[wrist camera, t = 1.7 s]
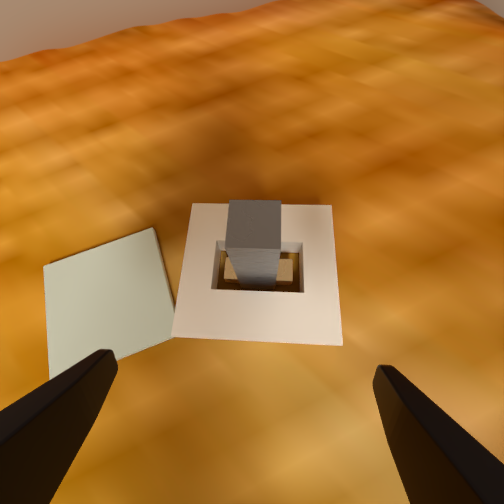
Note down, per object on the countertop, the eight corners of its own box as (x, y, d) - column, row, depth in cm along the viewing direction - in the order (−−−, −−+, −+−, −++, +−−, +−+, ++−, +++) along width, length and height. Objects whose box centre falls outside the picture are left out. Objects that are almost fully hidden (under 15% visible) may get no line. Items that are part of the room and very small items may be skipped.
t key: (290, 290, 22) (309, 249, 12) (225, 288, 22) (197, 246, 13) (290, 259, 23) (308, 200, 14) (228, 257, 23) (203, 199, 14)
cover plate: (333, 345, 20) (342, 345, 18) (181, 337, 21) (170, 336, 18) (325, 218, 24) (331, 205, 22) (199, 216, 25) (192, 203, 23)
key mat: (182, 334, 21) (179, 334, 20) (56, 384, 20) (49, 386, 19) (154, 230, 25) (152, 227, 24) (48, 268, 24) (43, 266, 23)
